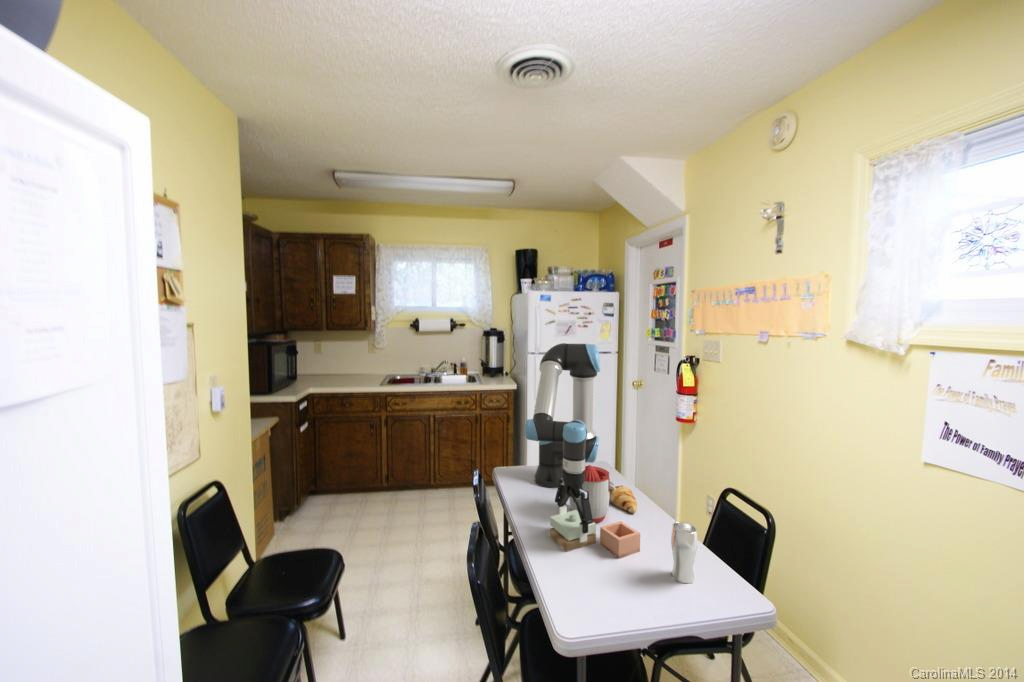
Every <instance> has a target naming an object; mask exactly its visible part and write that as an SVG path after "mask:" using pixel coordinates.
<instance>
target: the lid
mask: <svg viewBox="0 0 1024 682" xmlns="http://www.w3.org/2000/svg"><path fill="white" fill-rule="evenodd" d="M549 519H550V521H549V526H550V527H551V528H554V529H555V530H557V531H558V532H559V533H560V534H561V535H563V536H564V537H565V538H566V539H567V540H569V541H570V540H573V539H576V538H579V523H580V522H581V519H580V516H579V513H578V511H577V510H573V511H572V510H571V511H570V510H569V511H567V512H566V513H562V514H559V513H558V514H556V515H555V514H554V515H552V516H550V518H549ZM596 532H597V523H594V522H593V523H591V524H588V533H587V535H589V534H592V533H595V534H597V533H596Z"/></svg>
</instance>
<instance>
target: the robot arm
mask: <svg viewBox="0 0 1024 682" xmlns="http://www.w3.org/2000/svg"><path fill="white" fill-rule="evenodd" d="M600 360H601V359H600V351H599V347H598V346H597V344H591V343H566V342H563V343H559V344H556V345H554V346H551V347H550V348H549V349H548V350H547V351H546V352H545V353H544V355H543V356H542V358H541V361H540V363H539V372H540V375H539V383H538V388H537V393H536V399H535V405H534V409H533V410H534V411H533V416H532V418H531V419H530V418H529V419H526V422H525V424H524V425H525V426H524V436H525V438H526V439H527V440H528V441H529V440H530V441H536V442H538V466H537V469H536V472H535V473H534V474H535V475H534V483H535V484H537V485H538V486H540V487H544V488H550V489H551V488H552V489H555V488H557V489H556V495H555V498H554V502H555V503H557V507H558V514H562V513H566V512H568V509H567V508H568V507H567V505H568V504H567V502H568V500H569V497H572V498H573V501H574V502H575V503H576V506H577V510H578V513H579V516H580V519H581V522H580V523H579V542H580V543H582V542H585V541H587V533H588V524H591V523H593V518H592V513H591V507H590V502H589V492H588V491H586V492H585V491H583V488H582V485H583V483H584V482H585V471H584V470H585V466H586V464H587V463H589V464H590V463H591V464H593V463H594V462H596V460H597V455H598V451H599V442H600V437H599V436H597V435H596V434H597V432H596V431H595V430H594V429H593V421H594V420H593V417H594V415H593V413H594V411H593V410H594V405H593V403H594V379H595V378H596V377H597V376H598V373H599V372H601V361H600ZM563 371H569V376H570V377H571V378H572V382H573V383H572V420H571V421H560V420H554V415H555V408H556V402H557V395H558V386H559V379H560V375H561V374H562V373H563ZM579 497H580V499H576V498H579Z"/></svg>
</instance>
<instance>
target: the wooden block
mask: <svg viewBox="0 0 1024 682" xmlns="http://www.w3.org/2000/svg"><path fill="white" fill-rule="evenodd" d="M548 535H549V539H550V540H552V541H553V542H554V543H556V545H558V546H559V547H560V548H561V549H563V551H565V552H571V551H574V550H577V549H580V548H584V547H587V546H590V545H593V544H596V542H597V533H592V534H589V535H587V541H585V542H582V543H580V542H579V538H576V539H573V540H570V541H569V540H567V539H566V538H565V537H564V536H563V535H561V534H560V533H559V532H558V531H557V530H555V529H554V528H553V527H550V528H549V534H548Z"/></svg>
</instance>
